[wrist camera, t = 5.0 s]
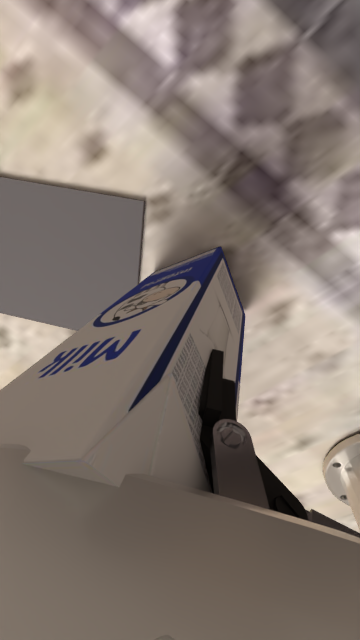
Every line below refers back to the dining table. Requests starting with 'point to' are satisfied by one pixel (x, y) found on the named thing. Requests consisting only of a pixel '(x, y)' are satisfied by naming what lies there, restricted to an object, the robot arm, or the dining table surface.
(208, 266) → the milk carton
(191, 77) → the dining table surface
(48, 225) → the mat
